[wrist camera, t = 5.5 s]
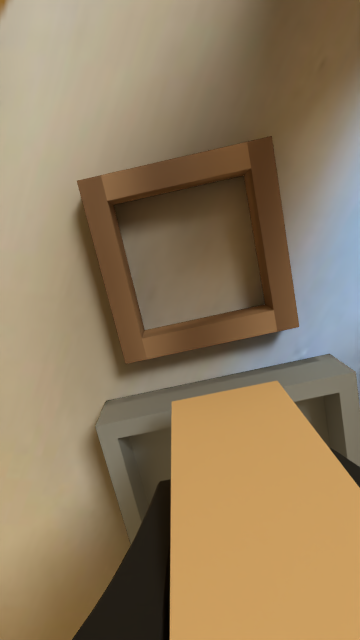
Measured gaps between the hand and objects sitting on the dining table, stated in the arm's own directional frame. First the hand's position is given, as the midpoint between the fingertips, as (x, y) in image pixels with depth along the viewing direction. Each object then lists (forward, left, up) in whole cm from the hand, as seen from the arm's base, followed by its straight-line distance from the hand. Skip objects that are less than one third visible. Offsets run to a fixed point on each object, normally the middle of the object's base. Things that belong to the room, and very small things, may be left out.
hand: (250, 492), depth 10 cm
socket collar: (0, -7, -7) cm, 10 cm away
